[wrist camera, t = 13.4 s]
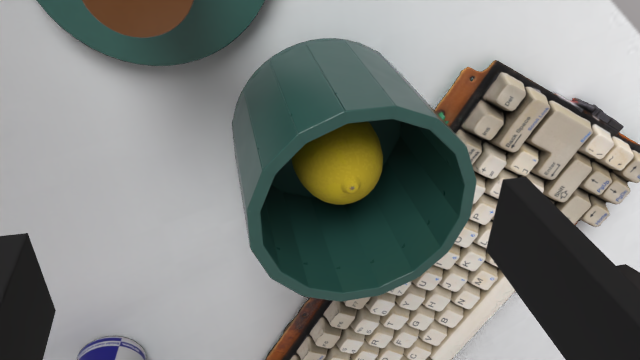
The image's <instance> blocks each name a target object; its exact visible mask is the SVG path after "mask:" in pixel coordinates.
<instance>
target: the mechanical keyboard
mask: <svg viewBox="0 0 640 360" xmlns="http://www.w3.org/2000/svg"><path fill="white" fill-rule="evenodd" d="M472 77H473V80H472V81H471V78H472ZM572 99H573V98H572ZM435 112H436V113H437V114H438V115H439V116H440V117H441V118H442V120H443V121H444V122H445V123H446V124H447V125H448V126H449V127H450V128H451V129H452V131H453V132H454V133H455V134H456V135H457V136H458V137H459V138H460V139H461V140H462V142H463V143H464V144H465V145H466V146H467V149H468V152H469V156H470V159H471V163H472V166H473V170H474V173H475V176H476V180H477V183H476V189H475V194H474V200H473V205H472V210H471V216H470V218H469V220H468V222H467V223H466V225H465V227H464V228H463V230H462V232H461V233H460V235H459V236H458V238H457V240H456V241H455V243H454V244H453V246H452V248H451V249H450V250H449V252H448V253H447V254H446V255H444V256H443V257H442V258H441V259H440V260H439V261H437V262H436V263H435V264H434V265H433V266H432V267H430V268H429V269H428V270H427V271H426V272H425V273H423V274H422V275H421V276H420V277H418V278H417V279H415V280H412V281H410V282H408V283H406V284H404V285H402V286H399V287H397V288H395V289H393V290H391V291H389V292H387V293H384V294H382V295H379V296H373V297H367V298H361V299H355V300H349V301H342V302H341V301H333V300H326V299H319V298H312V297H310V299H309V300H308V301H307V302H306V303H305V304H304V305H303V306H302V308H301V309H300V310H299V312H298V315H297V316H296V317H295V318H294V319H293V320H292V322H291V323H289V324H288V326H287V327H286V328H285V330H284V333H283V335H282V336H281V338H280V339H279V341H278V342H277V343H276V345H275V346H274V347H273V349H272V350H271V351H270V352H269V354H268V355H267V358H266V359H265V360H452V359H453V357H454V356H455V355H456V354H457V353H458V352H459V351H460V350H461V349H462V348H463V347H464V346H465V345H466V344H467V343H468V341H469V340H470V339H471V338H472V337H473V336H474V335H475V334H476V332H477V331H478V330H479V329H480V328H481V327H482V326H483V325H484V324H485V323H486V322H487V320H489V319H490V318H491V317H492V316H493V315H494V314H495V312H496V311H497V310H498V309H499V308H500V307H501V306H502V305H503V304H504V303H505V302H506V301H507V300H508V298H509V297H510V296H511V295H512V294H513V293H514V292H515V289H514V288H513V287H512V285H511V284H510V283H509V281H508V280H507V279H506V277H505V276H504V274H503V273H502V272H501V270H500V269H499V268H498V266H497V265H496V263H495V262H494V261H493V259H492V258H491V257H490V255H489V254H488V253H487V251H486V248H487V244H488V240H489V236H490V231H491V227H492V223H493V219H494V215H495V210H496V206H497V202H498V198H499V194H500V189H501V185H502V181H503V179H510V178H519V177H527V178H528V179H529V180H530V181H531V182H532V183H533V184H534V185H535V186H536V187H537V188H538V189H539V190H540V191H541V192H542V193H543V194H544V195H545V196H546V197H547V198H548V199H549V200H550V201H551V202H552V203H553V204H554V205H555V206H556V207H557V208H558V209H559V210H560V211H561V212H562V213H563V214H564V215H565V216H566V217H567V218H568V219H569V220H570V221H571V222H572V223H573V224H574V225H576V224H577V222H578V221H580V220H582V221H584V222H586V223H588V224H589V225H591V226H594V227H598V226H600V225H601V223H602V222H603V221H604V220H605V219H606V218H607V217H608V216H609V215H610V214H609V211H608V209H607V207H606V202H610V203H613V204H619V203H621V202H622V200H623V199H624V198H625V197H626V196H627V195H628V194H629V193H630V188H629V187H628V185H627V182H629V181H630V182H634V183H638V182H640V145H639V144H638V143H636V142H634V141H632V140H630V139H629V138H627V137H626V136H624V135H622V134H621V133H619V131H620V130H621V129H622V128H623V126H622V125H621V124H619V123H618V122H617V121H616V120H614V119H613V118H611V117H609V116H608V115H606V114H605V113H604V112H603V111H602V110H601V109H599V108H598V107H597V106H596V105H590V104H588V103H587V102H584V101H582V100H580V99H576V98H574V99H573V100H572V101H569V100H567V99H565V98H564V97H562V96H560V95H559V94H557V93H554V94H553V93H552V92H550V91H548V90H546V89H545V88H543V87H542V86H540V85H538V84H536V83H535V82H533V81H532V80H530V79H528V78H526V77H525V76H523V75H521V74H519V73H518V72H516V71H514V70H513V69H511V68H510V67H508V66H506V65H504V64H502V63H501V62H499V61H497V60H495V61H493V62H492V63H491V65H490V66H489V67H488V68H487V69H486V70H484V71H482V72H479V71H476V70H474V69H472V68H470V67H467V68H465V69H464V70H462V71H461V73H460V76H459V77H458V78H457V79H456V81H455V82H454V84H453V85H452V87H451V88H450V89H449V90H448V93H447V94H446V95H445V97H444V98H443V99H442V100H441V101H440V103H439V104H438V105H437V107H436V109H435Z"/></svg>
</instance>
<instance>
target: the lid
mask: <svg viewBox="0 0 640 360" xmlns="http://www.w3.org/2000/svg"><path fill="white" fill-rule="evenodd" d="M37 1H38V3H39V4H40V5H41V6H42V7H43V9H44V10H45V11H46V12H47V13H48V15H49V16H50V17H51V18H53V19H54V20H55V21H56V22H57V23H58V24H59V25H60V26H61V27H62V28H63V29H64V30H66V31H67V32H68V33H70V34H71V35H72V36H73V37H75V38H76V39H78V40H79V41H81V42H82V43H84V44H86V45H87V46H89V47H91V48H92V49H95V50H97V51H99V52H101V53H103V54H105V55H107V56H110V57H113V58H116V59H119V60H122V61H126V62H131V63H135V64H141V65H151V66H170V65H177V64H184V63H188V62H192V61H196V60H199V59H202V58H204V57H206V56H209V55H211V54H213V53H215V52H217V51H219V50H220V49H222V48H224V47H226V46H227V45H228V44H229V43H231V42H232V41H233V40H235V39H236V38H237V37H238V36H239V35H240V34H241V33H242V32H243V31H244V30H245V29H246V28H247V27H248V26H249V25H250V23H251V22H252V21H253V19H254V18H255V17H256V15H257V14H258V12H259V10H260V9H261V7H262V5H263V3H264V2H265V0H37Z"/></svg>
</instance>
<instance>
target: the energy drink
mask: <svg viewBox="0 0 640 360" xmlns="http://www.w3.org/2000/svg"><path fill="white" fill-rule="evenodd" d="M77 360H146V354H145V351H144V350H143V348H142V347H141V346H140V345H139V344H137V343H136V342H135V341H133V340H131V339H128V338H125V337H120V336H108V337H102V338H99V339H96V340H94V341H92V342H91V343H89V344H87V345H86V346H85V347H84V348H83V349H82V350H81V351H80V352H79V354H78V357H77Z"/></svg>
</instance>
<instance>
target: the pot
mask: <svg viewBox="0 0 640 360" xmlns="http://www.w3.org/2000/svg"><path fill="white" fill-rule="evenodd" d="M358 122H369V123H370V124H371V126H372V127H373V129H374V131H375V132H376V134H377V136H378V138H379V141H380V145H381V149H382V154H383V166H382V172H381V175H380V178H379V181H378V182H377V184H376V186H375V187H374V189H373V190H372V191H371V192H370V193H369V194H368V195H367V196H365V197H363V198H362V199H360V200H358V201H356V202H353V203H350V204H344V205H337V204H331V203H327V202H324V201H322V200H320V199H318V198H317V197H315V196H313V195H312V194H311V193H310V192H309V191H308V190H307V189H306V188H305V187H304V186H303V184H302V183H301V182H300V180H299V178H298V176H297V174H296V173H295V170H294V168H293V164H292V159H291V158H292V157H293V156H294V155H295V154H296V153H297V152H298V151H299V150H300V149H301V148H302V147H303V146H304V145H305V144H306V143H308V142H310V141H312V140H314V139H316V138H319V137H321V136H323V135H325V134H327V133H329V132H331V131H333V130H335V129H337V128H339V127H341V126H343V125H345V124H349V123H358ZM232 130H233V139H234V148H235V157H236V163H237V169H238V175H239V182H240V188H241V194H242V200H243V206H244V213H245V219H246V225H247V231H248V238H249V244H250V248H251V250H252V252H253V253H254V255H255V256H256V258H257V259H258V260H259V262H260V263H261V265H262V266H263V268H264V269H265V271H266V272H267V273H268V275H269V276H270V277H271V278H272V279H273V280H275V281H277V282H279V283H280V284H282V285H284V286H286V287H287V288H289V289H291V290H293V291H295V292H296V293H298V294H300V295H302V296H305V297H312V298H319V299H326V300H333V301H341V302H342V301H349V300H355V299H361V298H367V297H373V296H379V295H382V294H384V293H387V292H389V291H391V290H393V289H395V288H397V287H399V286H402V285H404V284H406V283H408V282H410V281H412V280H415V279H417V278H418V277H420V276H421V275H422V274H423V273H425V272H426V271H427V270H428V269H429V268H430V267H432V266H433V265H434V264H435V263H436V262H437V261H439V260H440V259H441V258H442V257H443V256H444V255H446V254H447V253H448V252H449V250H450V249H451V248H452V246H453V244H454V243H455V241H456V240H457V238H458V236H459V235H460V233H461V232H462V230H463V228H464V227H465V225H466V223H467V222H468V220H469V218H470V216H471V210H472V205H473V200H474V194H475V189H476V183H477V180H476V176H475V173H474V170H473V166H472V163H471V159H470V156H469V152H468V149H467V146H466V145H465V144H464V143H463V142H462V140H461V139H460V138H459V137H458V136H457V135H456V134H455V133H454V132H453V131H452V129H451V128H450V127H449V126H448V125H447V124H446V123H445V122H444V121H443V120H442V118H441V117H440V116H439V115H438V114H437V113H436V112H435V111H434V110H433V109H432V108H431V106H430V105H429V104H428V103H427V102H426V101H425V100H424V99H423V98H422V97H421V95H420V94H419V93H418V92H417V91H416V90H415V89H414V88H413V87H412V86H411V84H410V83H409V82H408V81H407V80H406V79H405V78H404V77H403V76H402V75H401V74H400V73H399V72H398V71H397V70H396V69H395V68H394V67H393V66H392V65H391V64H390V63H389V62H388V61H387V60H386V59H385V58H384V57H383V56H382V55H381V54H380V53H379V52H377V51H375V50H373V49H371V48H369V47H367V46H365V45H362V44H360V43H357V42H353V41H349V40H343V39H336V38H333V39H316V40H310V41H306V42H303V43H299V44H296V45H294V46H291V47H289V48H287V49H285V50H283V51H281V52H279V53H278V54H276V55H274V56H273V57H272V58H270V59H269V60H268V61H266V62H265V63H264V64H263V65H262V66H261V67H260V68H259V69H258V70H257V71H256V72H255V73H254V74H253V75H252V77H251V78H250V79H249V81H248V82H247V84H246V85H245V87H244V89H243V90H242V92H241V94H240V97H239V99H238V102H237V104H236V108H235V112H234V118H233V121H232Z"/></svg>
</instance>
